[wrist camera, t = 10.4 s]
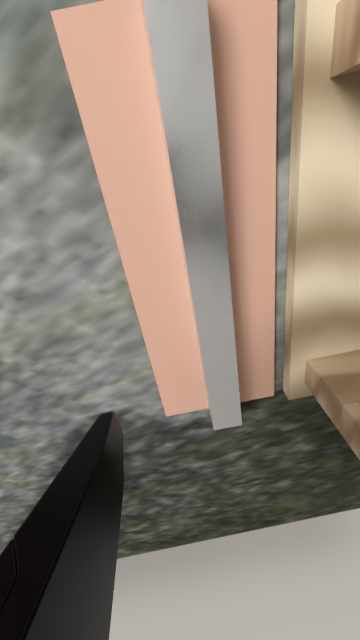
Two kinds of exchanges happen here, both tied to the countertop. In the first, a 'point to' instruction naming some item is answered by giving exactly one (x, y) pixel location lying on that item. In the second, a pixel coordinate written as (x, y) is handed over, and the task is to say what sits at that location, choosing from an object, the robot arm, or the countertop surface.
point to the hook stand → (325, 214)
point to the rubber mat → (155, 187)
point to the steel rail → (196, 186)
